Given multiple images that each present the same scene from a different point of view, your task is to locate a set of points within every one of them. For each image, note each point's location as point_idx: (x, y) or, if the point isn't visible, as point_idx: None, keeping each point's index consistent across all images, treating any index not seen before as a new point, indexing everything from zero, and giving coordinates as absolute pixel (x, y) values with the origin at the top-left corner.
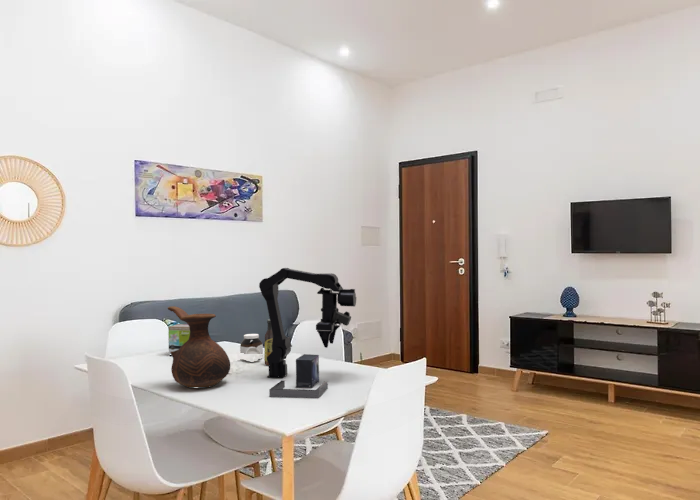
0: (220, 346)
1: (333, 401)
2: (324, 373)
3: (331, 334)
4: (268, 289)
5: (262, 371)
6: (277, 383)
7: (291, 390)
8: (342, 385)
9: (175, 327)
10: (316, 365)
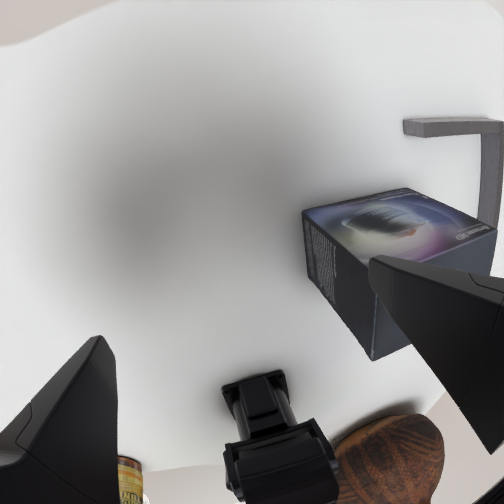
0: (395, 494)
1: (494, 69)
2: (126, 275)
3: (84, 438)
4: None
5: (208, 447)
6: None
7: (499, 206)
8: (344, 67)
9: None
10: (412, 225)
